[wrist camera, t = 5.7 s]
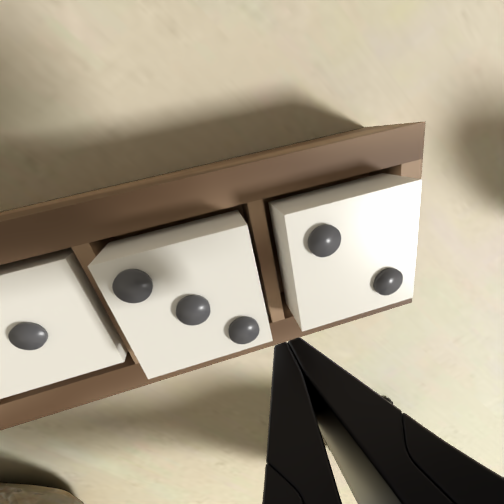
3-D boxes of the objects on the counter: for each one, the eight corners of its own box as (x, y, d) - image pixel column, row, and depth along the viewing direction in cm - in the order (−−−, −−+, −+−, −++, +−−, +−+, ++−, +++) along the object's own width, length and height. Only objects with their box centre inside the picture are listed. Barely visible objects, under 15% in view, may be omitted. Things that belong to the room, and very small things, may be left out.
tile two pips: (381, 274, 15) (416, 299, 13) (286, 303, 15) (303, 334, 12) (382, 173, 13) (425, 180, 10) (268, 201, 12) (285, 216, 10)
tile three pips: (260, 310, 15) (273, 343, 12) (156, 341, 14) (147, 383, 12) (237, 209, 12) (248, 226, 10) (108, 242, 12) (85, 268, 9)
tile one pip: (134, 329, 15) (123, 364, 13) (30, 360, 15) (-3, 403, 12) (88, 238, 13) (63, 260, 10) (-41, 270, 12) (-99, 302, 10)
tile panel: (367, 269, 20) (411, 302, 16) (40, 364, 17) (-7, 432, 13) (365, 127, 16) (425, 121, 11) (-65, 227, 13) (-181, 264, 9)
